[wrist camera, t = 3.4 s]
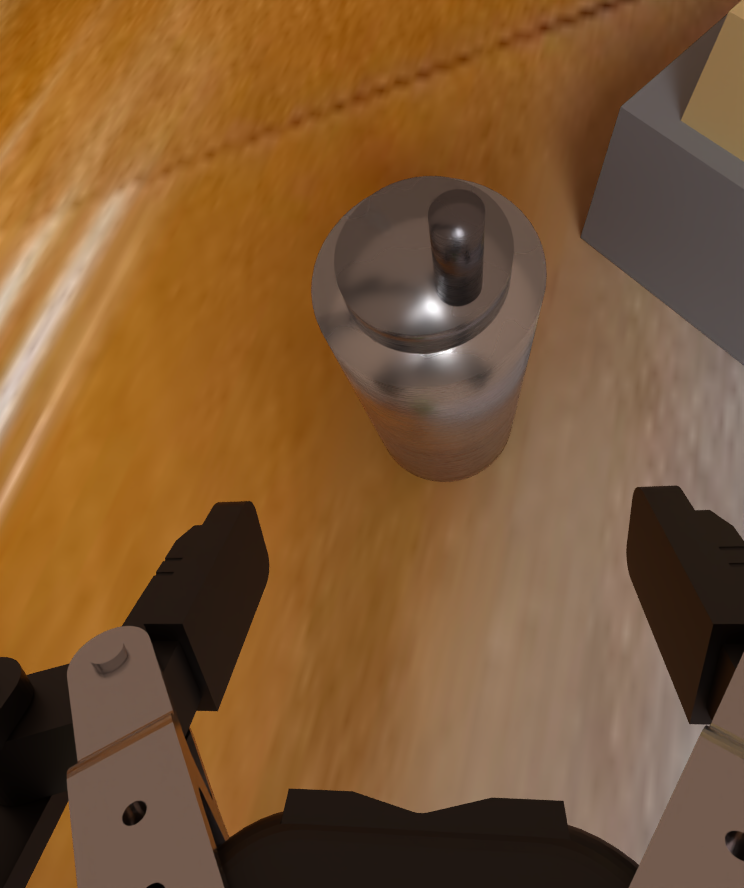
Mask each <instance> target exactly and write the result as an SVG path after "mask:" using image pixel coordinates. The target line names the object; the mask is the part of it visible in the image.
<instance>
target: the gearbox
mask: <svg viewBox="0 0 744 888" xmlns="http://www.w3.org/2000/svg"><path fill="white" fill-rule="evenodd" d="M581 238H582V239H583V240H584V241H586V242H587V243H588V244H590V245H591V246H592V247H593V248H595V249H596V250H597V251H599V252H600V253H601V254H602V255H604V256H605V257H606V258H607V259H609V260H610V261H611V262H613V263H614V264H615V265H616V266H618V267H619V268H620V269H622V270H623V271H624V272H625V273H627V274H628V275H629V276H630V277H632V278H633V279H634V280H636V281H637V282H638V283H639V284H641V285H642V286H643V287H645V288H646V289H647V290H648V291H650V292H651V293H652V294H653V295H655V296H656V297H657V298H659V299H660V300H661V301H662V302H664V303H665V304H666V305H668V306H669V307H670V308H671V309H673V310H674V311H675V312H676V313H678V314H679V315H680V316H682V317H683V318H684V319H685V320H687V321H688V322H689V323H691V324H692V325H693V326H694V327H696V328H697V329H698V330H699V331H701V332H702V333H703V334H705V335H706V336H707V337H708V338H710V339H711V340H712V341H714V342H715V343H716V344H717V345H719V346H720V347H721V348H722V349H724V350H725V351H726V352H728V353H729V354H730V355H731V356H733V357H734V358H735V359H737V360H738V361H739V362H740V363H742V364H743V365H744V0H741V1H740V2H739V3H738V4H737V5H736V6H735V7H733V8H732V9H731V10H730V11H729V13H728V14H727V15H726V16H724V17H723V18H722V19H721V20H720V21H719V22H718V23H716V24H715V25H714V26H713V27H712V28H711V29H709V30H708V31H707V32H706V33H705V34H704V35H703V36H701V37H700V38H699V39H698V40H697V41H696V42H695V43H693V44H692V45H691V46H690V47H689V48H688V49H687V50H685V51H684V52H683V53H682V54H681V55H680V56H678V57H677V58H676V59H675V60H674V61H673V62H672V63H670V64H669V65H668V66H667V67H666V68H665V69H664V70H662V71H661V72H660V73H659V74H658V75H657V76H656V77H654V78H653V79H652V80H651V81H650V82H649V83H647V84H646V85H645V86H644V87H643V88H642V89H641V90H639V91H638V92H637V93H636V94H635V95H634V96H633V97H631V98H630V99H629V100H628V101H627V102H626V103H625V104H623V105H622V106H621V108H620V111H619V114H618V117H617V121H616V124H615V127H614V130H613V134H612V137H611V140H610V143H609V147H608V150H607V153H606V156H605V160H604V163H603V166H602V169H601V173H600V176H599V179H598V182H597V186H596V189H595V192H594V195H593V199H592V202H591V205H590V208H589V212H588V215H587V218H586V221H585V225H584V228H583V231H582V234H581Z"/></svg>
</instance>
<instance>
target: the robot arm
mask: <svg viewBox="0 0 744 888" xmlns="http://www.w3.org/2000/svg"><path fill="white" fill-rule="evenodd" d="M626 555H627V565H628V571H629V575H630V578H631V581H632V583H633V586H634V588H635V590H636V593H637V595H638V598H639V600H640V603H641V605H642V608H643V610H644V613H645V615H646V618H647V620H648V623H649V625H650V628H651V630H652V633H653V635H654V637H655V640H656V642H657V645H658V647H659V650H660V652H661V655H662V657H663V660H664V662H665V665H666V667H667V670H668V672H669V675H670V677H671V679H672V682H673V684H674V687H675V689H676V692H677V694H678V697H679V699H680V702H681V704H682V707H683V709H684V712H685V714H686V717H687V719H688V722H689V724H710V726H707V725H706V726H705V727H704V729H703V731H702V732H701V734H700V736H699V738H698V740H697V743H696V745H695V747H694V749H693V751H692V753H691V755H690V758H689V760H688V762H687V764H686V766H685V768H684V770H683V773H682V775H681V777H680V779H679V781H678V783H677V785H676V788H675V790H674V792H673V794H672V796H671V798H670V800H669V803H668V805H667V807H666V809H665V811H664V813H663V815H662V818H661V820H660V822H659V824H658V826H657V828H656V830H655V833H654V835H653V837H652V839H651V841H650V843H649V845H648V848H647V850H646V852H645V854H644V856H643V858H642V860H641V863H640V865H638V864H637V863H636V862H635V861H634V860H632V859H631V858H630V857H628V856H627V855H625V854H624V853H623V852H621V851H620V850H619V849H617V848H616V847H614V846H612V845H611V844H609V843H607V842H606V841H604V840H602V839H601V838H599V837H597V836H595V835H592V834H590V833H588V832H586V831H584V830H582V829H579V828H576V827H573V826H570V825H567V819H566V813H565V807H564V802H563V801H553V800H531V799H509V798H489V799H484V800H480V801H476V802H472V803H467V804H463V805H459V806H454V807H450V808H446V809H441V810H437V811H433V812H428V813H415V812H412V811H409V810H406V809H403V808H400V807H397V806H394V805H391V804H388V803H385V802H382V801H379V800H376V799H373V798H370V797H367V796H364V795H361V794H358V793H356V792H353V791H331V790H308V789H289V791H288V795H287V799H286V803H285V808H284V811H283V812H280V813H276V814H273V815H271V816H268V817H265V818H263V819H260V820H258V821H256V822H254V823H252V824H250V825H249V826H247V827H245V828H243V829H242V830H240V831H239V832H237V833H236V834H234V835H233V836H231V837H229V835H228V832H227V830H226V827H225V825H224V822H223V820H222V817H221V814H220V811H219V809H218V806H217V803H216V800H215V797H214V794H213V791H212V788H211V785H210V782H209V779H208V776H207V773H206V770H205V768H204V765H203V762H202V759H201V756H200V753H199V750H198V747H197V744H196V741H195V738H194V735H193V733H192V730H191V728H190V724H191V722H192V720H193V717H194V715H195V712H196V711H218V709H219V706H220V704H221V701H222V699H223V696H224V693H225V691H226V688H227V685H228V683H229V680H230V678H231V675H232V672H233V670H234V667H235V665H236V662H237V659H238V657H239V654H240V651H241V649H242V646H243V644H244V641H245V638H246V636H247V633H248V631H249V628H250V625H251V623H252V620H253V618H254V615H255V612H256V610H257V607H258V604H259V602H260V599H261V597H262V594H263V591H264V589H265V586H266V583H267V580H268V575H269V557H268V552H267V549H266V545H265V542H264V538H263V534H262V531H261V527H260V524H259V520H258V516H257V513H256V509H255V507H254V505H253V503H252V502H250V501H241V502H218V503H216V504H215V505H214V506H213V508H212V509H211V511H210V513H209V514H208V516H207V518H206V519H205V521H204V523H203V524H202V525H195V526H193V527H192V528H191V529H190V530H188V531H187V532H186V533H185V534H184V535H182V536H181V537H180V538H179V539H178V540H176V542H175V543H174V545H173V546H172V548H171V550H170V551H169V553H168V554H167V556H166V557H165V561H163V562H162V564H161V565H160V567H159V568H158V570H157V572H156V576H153V578H152V579H151V581H150V583H149V584H148V586H147V587H146V589H145V590H144V592H143V594H142V595H141V597H140V598H139V600H138V601H137V603H136V605H135V606H134V608H133V609H132V611H131V612H130V614H129V616H128V617H127V619H126V620H125V622H124V623H123V625H122V627H117V628H114V629H110V630H108V631H105V632H103V633H101V634H99V635H97V636H96V637H94V638H93V639H91V640H90V641H88V642H87V643H86V644H85V645H84V646H83V647H81V648H80V649H79V651H78V652H77V653H76V654H75V655H74V657H73V658H72V660H71V662H70V664H66V665H63V666H59V667H55V668H51V669H48V670H44V671H40V672H36V673H33V674H29V675H26V674H25V672H24V671H23V669H22V667H21V666H20V664H19V663H18V662H17V661H16V660H14V659H12V658H8V657H0V888H25V887H26V885H27V883H28V881H29V879H30V877H31V875H32V873H33V871H34V869H35V867H36V865H37V863H38V861H39V859H40V857H41V855H42V853H43V851H44V849H45V847H46V845H47V843H48V841H49V839H50V837H51V835H52V833H53V831H54V829H55V827H56V825H57V823H58V821H59V819H60V817H61V815H62V813H63V810H64V808H65V806H66V804H67V802H68V800H69V809H70V818H71V828H72V838H73V847H74V857H75V867H76V876H77V886H78V888H744V541H743V539H742V538H741V536H740V535H739V534H738V532H737V531H736V529H735V528H734V527H733V526H732V525H731V524H729V523H728V522H726V521H725V520H723V519H722V518H721V517H719V516H718V515H716V514H715V513H713V512H712V511H711V510H694V508H693V507H692V505H691V504H690V502H689V500H688V499H687V497H686V496H685V494H684V493H683V491H682V490H681V488H680V487H679V486H654V487H637V488H636V489H635V490H634V493H633V498H632V507H631V515H630V523H629V531H628V539H627V549H626Z"/></svg>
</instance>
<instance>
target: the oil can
mask: <svg viewBox="0 0 744 888" xmlns="http://www.w3.org/2000/svg"><path fill="white" fill-rule="evenodd" d="M546 275H547V273H546V261H545V256H544V252H543V248H542V245H541V242H540V240H539V237H538V235H537V233H536V231H535V229H534V228H533V226H532V224H531V223H530V221H529V220H528V219H527V218H526V216H525V215H524V214H523V213H522V211H521V210H519V209H518V208H517V207H516V206H515V205H514V204H513V203H512V202H511V201H509V200H508V199H506V198H505V197H503V196H502V195H501V194H499V193H497V192H495V191H493V190H491V189H489V188H487V187H485V186H482V185H479V184H477V183H474V182H470V181H465V180H461V179H454V178H449V177H441V176H423V177H414V178H410V179H405V180H402V181H399V182H396V183H393V184H391V185H388V186H386V187H384V188H382V189H380V190H379V191H377V192H375V193H374V194H372V195H371V196H369V197H367V198H366V199H364V200H362V201H361V202H360V203H358V204H357V205H356V206H354V207H353V208H352V209H351V210H350V211H348V212H347V213H346V214H345V215H344V216H343V217H342V218H341V219H340V220H339V222H338V223H337V224H336V225H335V226H334V228H333V229H332V230H331V232H330V233H329V235H328V236H327V238H326V240H325V241H324V243H323V245H322V247H321V249H320V252H319V254H318V257H317V260H316V263H315V266H314V271H313V277H312V291H311V293H312V303H313V309H314V313H315V316H316V320H317V322H318V324H319V327H320V329H321V331H322V333H323V335H324V337H325V339H326V340H327V342H328V344H329V346H330V348H331V349H332V351H333V353H334V355H335V357H336V358H337V360H338V362H339V364H340V366H341V367H342V369H343V371H344V373H345V375H346V376H347V378H348V380H349V382H350V384H351V385H352V387H353V389H354V391H355V393H356V394H357V396H358V398H359V400H360V402H361V403H362V405H363V407H364V409H365V411H366V412H367V414H368V416H369V418H370V420H371V421H372V423H373V425H374V427H375V429H376V430H377V432H378V434H379V436H380V438H381V439H382V441H383V443H384V445H385V446H386V448H387V450H388V452H389V453H390V455H391V456H392V457H393V458H394V460H395V461H396V462H397V463H398V464H399V465H400V466H401V467H403V468H404V469H405V470H407V471H408V472H410V473H412V474H414V475H416V476H418V477H421V478H423V479H427V480H431V481H439V482H451V481H458V480H462V479H466V478H469V477H471V476H474V475H476V474H478V473H479V472H481V471H483V470H484V469H486V468H487V467H488V466H489V465H491V464H492V463H493V462H494V461H495V460H496V459H497V458H498V456H499V455H500V454H501V452H502V451H503V449H504V447H505V445H506V444H507V441H508V438H509V436H510V432H511V428H512V424H513V420H514V416H515V412H516V408H517V403H518V399H519V395H520V391H521V387H522V383H523V379H524V375H525V371H526V367H527V363H528V359H529V354H530V350H531V346H532V342H533V338H534V334H535V330H536V326H537V322H538V318H539V314H540V310H541V306H542V301H543V297H544V293H545V288H546Z"/></svg>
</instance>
